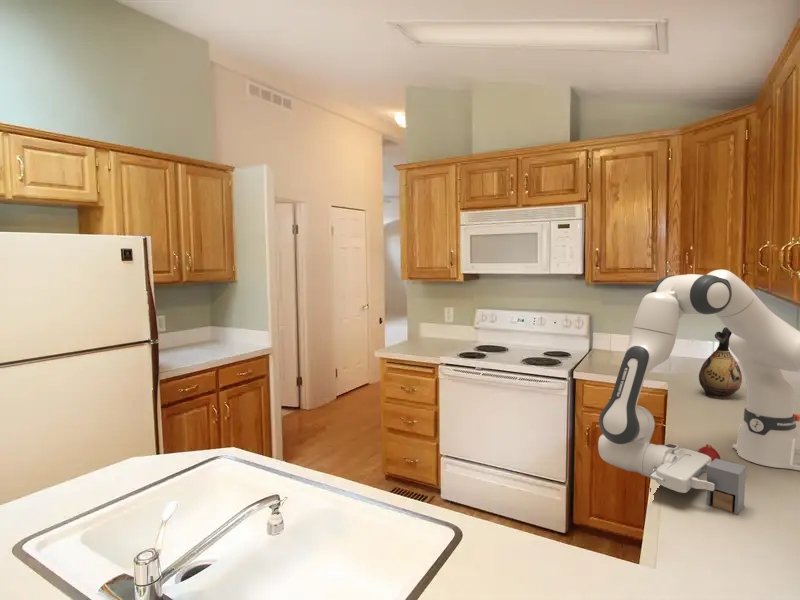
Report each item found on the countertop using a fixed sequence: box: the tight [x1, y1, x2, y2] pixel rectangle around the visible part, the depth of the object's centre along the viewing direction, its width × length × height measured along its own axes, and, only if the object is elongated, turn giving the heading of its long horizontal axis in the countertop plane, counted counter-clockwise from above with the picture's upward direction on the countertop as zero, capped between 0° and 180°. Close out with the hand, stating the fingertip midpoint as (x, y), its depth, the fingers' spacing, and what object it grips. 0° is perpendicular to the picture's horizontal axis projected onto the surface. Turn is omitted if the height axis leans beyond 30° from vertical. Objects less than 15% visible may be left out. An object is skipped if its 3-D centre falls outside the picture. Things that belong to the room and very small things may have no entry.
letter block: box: [712, 489, 735, 513], centre depth 118 cm, size 4×4×4 cm
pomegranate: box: [697, 443, 721, 462], centre depth 137 cm, size 6×6×8 cm
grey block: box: [705, 458, 747, 515], centre depth 118 cm, size 6×6×10 cm
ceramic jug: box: [698, 326, 743, 400], centre depth 208 cm, size 17×15×30 cm
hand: (721, 480), depth 119 cm, fingers open, 8 cm apart
